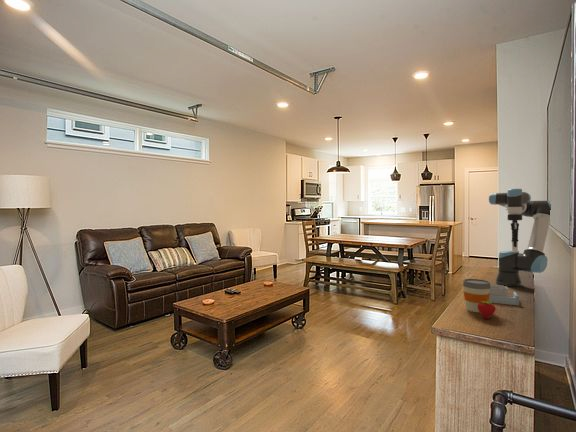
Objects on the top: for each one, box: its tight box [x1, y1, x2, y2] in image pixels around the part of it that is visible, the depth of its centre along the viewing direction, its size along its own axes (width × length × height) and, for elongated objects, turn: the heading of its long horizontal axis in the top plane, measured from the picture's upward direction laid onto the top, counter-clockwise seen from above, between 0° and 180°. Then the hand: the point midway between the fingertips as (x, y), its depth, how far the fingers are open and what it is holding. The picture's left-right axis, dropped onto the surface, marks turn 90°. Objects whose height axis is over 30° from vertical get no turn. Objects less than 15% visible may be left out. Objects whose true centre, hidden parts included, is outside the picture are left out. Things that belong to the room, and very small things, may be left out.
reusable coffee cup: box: [462, 278, 491, 313], centre depth 173 cm, size 12×13×15 cm
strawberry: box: [477, 298, 496, 320], centre depth 159 cm, size 6×8×10 cm
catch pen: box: [489, 291, 520, 306], centre depth 192 cm, size 15×21×5 cm
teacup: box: [489, 284, 509, 297], centre depth 193 cm, size 14×11×8 cm
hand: (514, 252), depth 206 cm, fingers closed
